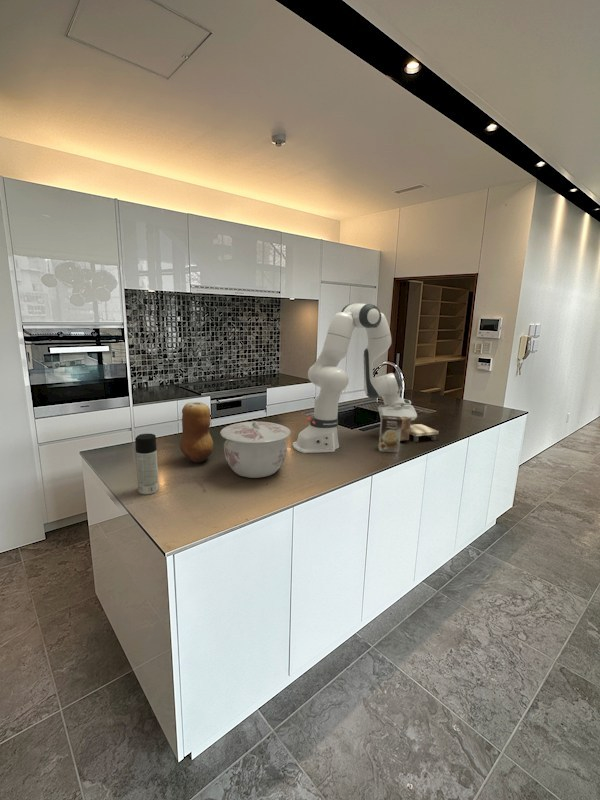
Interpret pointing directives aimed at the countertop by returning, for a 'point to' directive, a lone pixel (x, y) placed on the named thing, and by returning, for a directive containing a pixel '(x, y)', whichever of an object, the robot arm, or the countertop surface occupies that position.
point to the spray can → (147, 463)
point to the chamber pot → (255, 447)
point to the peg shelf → (422, 431)
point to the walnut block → (405, 428)
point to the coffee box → (390, 433)
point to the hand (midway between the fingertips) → (403, 427)
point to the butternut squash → (196, 432)
